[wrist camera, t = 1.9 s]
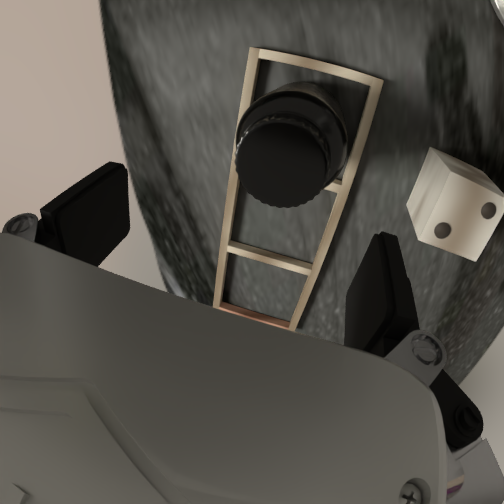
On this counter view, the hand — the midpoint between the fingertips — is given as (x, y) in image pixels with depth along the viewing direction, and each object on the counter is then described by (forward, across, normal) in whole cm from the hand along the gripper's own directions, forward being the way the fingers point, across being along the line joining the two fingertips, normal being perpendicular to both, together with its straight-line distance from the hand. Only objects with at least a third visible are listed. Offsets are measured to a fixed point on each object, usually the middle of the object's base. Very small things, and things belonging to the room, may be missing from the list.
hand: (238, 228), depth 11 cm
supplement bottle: (+18, -1, -1) cm, 18 cm away
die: (+17, -15, +1) cm, 23 cm away
